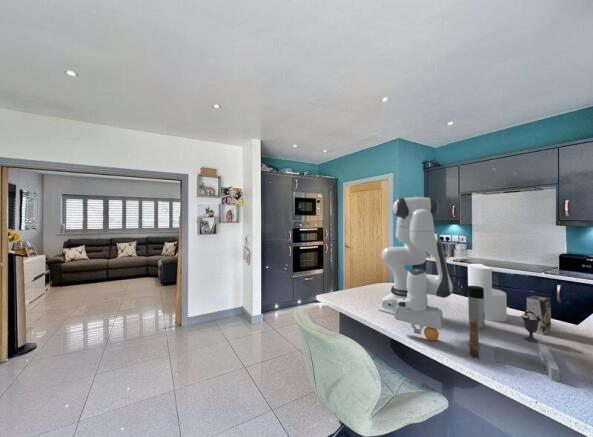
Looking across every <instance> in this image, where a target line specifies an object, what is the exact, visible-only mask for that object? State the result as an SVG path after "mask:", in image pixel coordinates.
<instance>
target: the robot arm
mask: <svg viewBox="0 0 593 437" xmlns="http://www.w3.org/2000/svg"><path fill="white" fill-rule="evenodd" d="M437 211H438V202H437V200H436V199H435V198H433V197H428V196H426V197H424V196H414V197H413V196H412V197H400V198H396V199H395V200H394V201H393V205H392V212H393V214H394V215H395V216H396V217H397V218H396V228H395V237H396V239H397V240H398V241H399V242H401V243H404V244H403V245H404V246H389V247H385V248H383V250H382V251H381V259H382V262H383V263H384V264H385V265H386V266H388V267H389V268H390V270H391V272H392V274H393V283H394V284H393V285H392V286H391V287H390V293H388V294H386V295H385V296H383V298H382V299H381V303H379V304H378V305H377V310H378V311H381V312H384V313H386V314H387V313H388V314H391V315H393V316H394V319H395V320H396V321H400V322H405V323H409V324H410V325H411V327H412V329H413V333H414V334H417V335H422V330H424V327H425V328H426V327H430V328H434V329H437V330H441V329H442V328H443V320H442V318H443V310H442V309H440V308H439V307H435V306H430V305H429V304H428V301H429V300H428V295H431V296H435V297H438V298H441V299H442V298H443V299H445V298H448V297H450V296H451V295H452V294H453V290H454V287H453V283H452V282H453V281H452V280H451V276H450V273H449V272H450V271H449V268H448V262H447V257H446V254H445V249H444V247H443V244H442V242H440V241H438V240H437V238H436V235H435V226H434V225H435V224H434V220H433V219H434V218H433V216H435V214H436V213H437ZM426 252H427V253H429V255H431V256H432V257H433V259H434V260H435V264H436V269H437V274H429V273H426V271H425V270H424V269H421V268H410V269H409V270H406V268H405V266H416V265H417V266H418V265H422V264H424V263H425V262H426V260H427V257H428V256H427V253H426ZM415 325H417V326H419V328H417V327H416V326H415Z"/></svg>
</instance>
